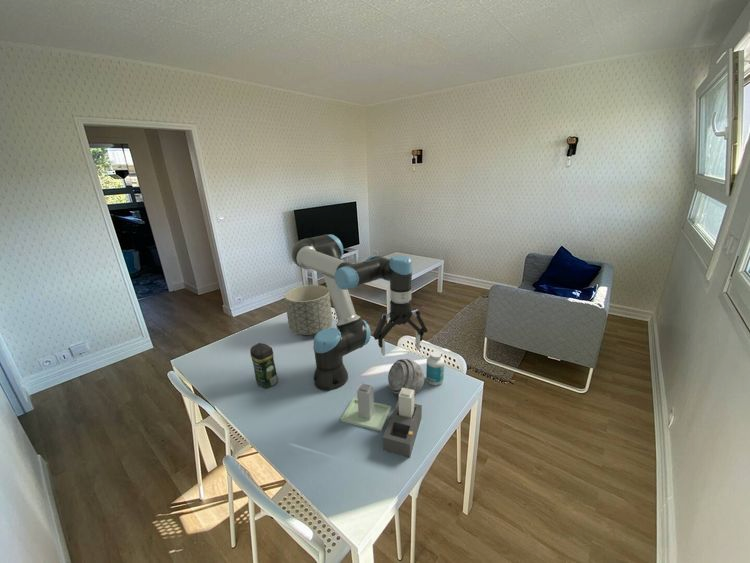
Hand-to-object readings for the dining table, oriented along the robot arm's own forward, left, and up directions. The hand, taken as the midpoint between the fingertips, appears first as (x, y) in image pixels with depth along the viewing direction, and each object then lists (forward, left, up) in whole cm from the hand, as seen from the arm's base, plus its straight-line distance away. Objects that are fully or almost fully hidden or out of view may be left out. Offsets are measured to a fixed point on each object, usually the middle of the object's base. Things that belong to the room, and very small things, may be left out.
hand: (400, 351), depth 116 cm
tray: (-10, -12, -23) cm, 28 cm away
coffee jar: (-60, -7, -23) cm, 65 cm away
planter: (-66, +41, -23) cm, 81 cm away
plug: (-10, -12, -22) cm, 27 cm away
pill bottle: (+11, +16, -23) cm, 30 cm away
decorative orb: (+1, +5, -23) cm, 24 cm away
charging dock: (+5, -16, -23) cm, 28 cm away
